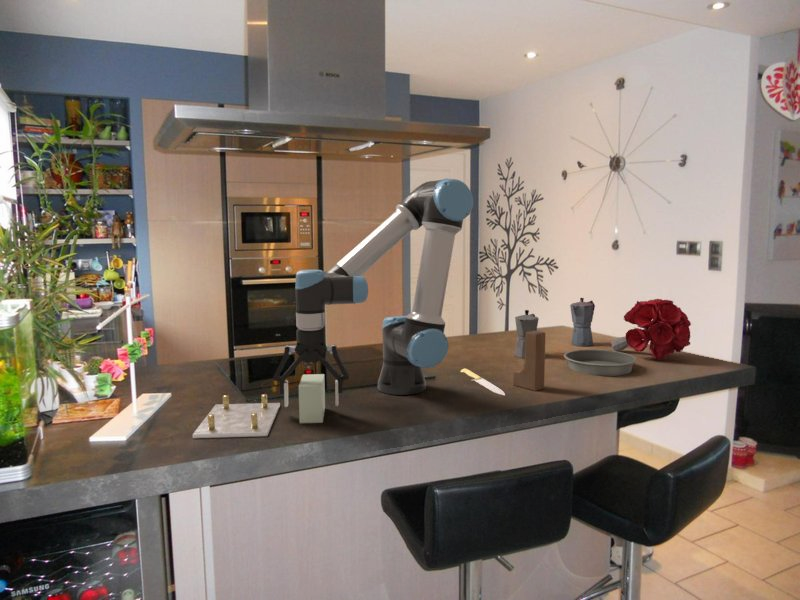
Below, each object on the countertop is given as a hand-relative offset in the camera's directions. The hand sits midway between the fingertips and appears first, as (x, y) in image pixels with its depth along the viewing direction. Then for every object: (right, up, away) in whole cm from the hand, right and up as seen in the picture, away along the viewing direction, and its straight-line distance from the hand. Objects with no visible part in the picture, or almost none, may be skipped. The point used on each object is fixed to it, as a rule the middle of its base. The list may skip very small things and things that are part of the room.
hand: (311, 405), depth 162 cm
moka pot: (+101, +10, +91) cm, 136 cm away
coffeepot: (+73, +7, +71) cm, 102 cm away
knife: (+50, +1, +33) cm, 60 cm away
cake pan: (+95, +4, +51) cm, 108 cm away
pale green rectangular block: (0, -3, 0) cm, 3 cm away
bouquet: (+120, +6, +67) cm, 138 cm away
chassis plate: (-18, -4, -4) cm, 19 cm away
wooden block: (+65, +1, +27) cm, 70 cm away
